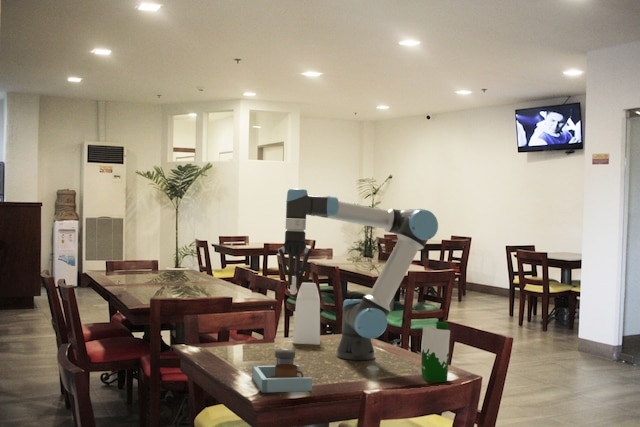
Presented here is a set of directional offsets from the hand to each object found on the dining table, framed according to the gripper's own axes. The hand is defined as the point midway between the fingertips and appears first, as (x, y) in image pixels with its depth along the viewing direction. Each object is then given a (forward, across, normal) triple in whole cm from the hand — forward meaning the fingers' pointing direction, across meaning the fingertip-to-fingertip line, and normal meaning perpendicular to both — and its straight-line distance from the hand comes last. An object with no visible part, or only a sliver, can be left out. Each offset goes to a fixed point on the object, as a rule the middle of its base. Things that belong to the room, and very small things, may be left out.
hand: (292, 293), depth 234 cm
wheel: (+24, -5, -13) cm, 27 cm away
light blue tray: (+26, -9, -23) cm, 36 cm away
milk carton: (+27, +46, -26) cm, 59 cm away
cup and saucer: (+27, -8, -27) cm, 39 cm away
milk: (+27, +18, +44) cm, 54 cm away
